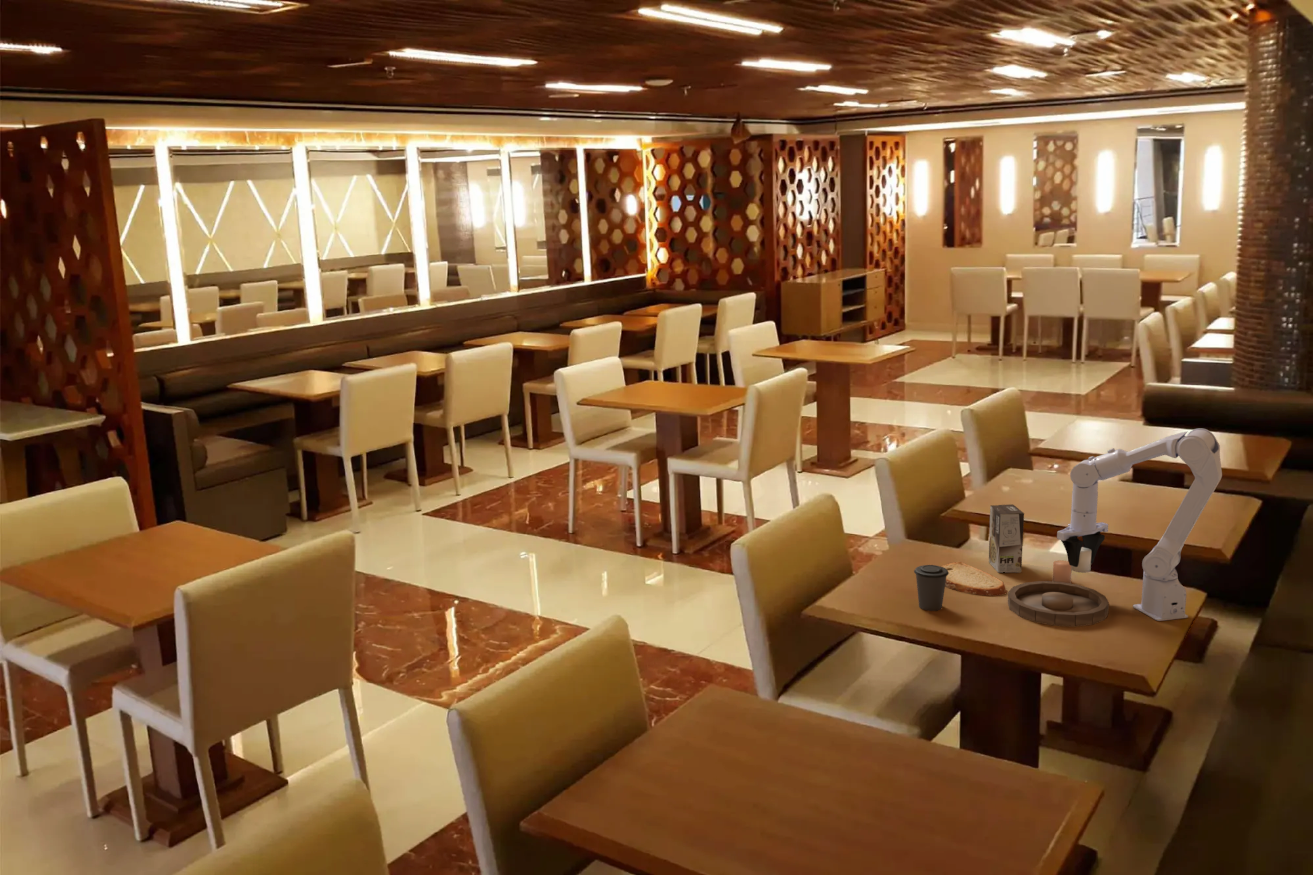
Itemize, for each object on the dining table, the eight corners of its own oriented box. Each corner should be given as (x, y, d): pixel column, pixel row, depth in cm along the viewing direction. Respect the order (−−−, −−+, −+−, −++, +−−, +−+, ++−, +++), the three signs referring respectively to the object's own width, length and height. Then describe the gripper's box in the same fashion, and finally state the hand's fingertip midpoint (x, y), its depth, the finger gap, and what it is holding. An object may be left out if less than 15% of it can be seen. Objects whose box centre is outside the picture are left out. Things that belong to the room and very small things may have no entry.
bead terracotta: (1074, 583, 268) (1075, 565, 267) (1058, 585, 268) (1059, 566, 267) (1064, 578, 273) (1065, 559, 272) (1049, 579, 272) (1049, 561, 271)
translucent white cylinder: (1090, 573, 255) (1091, 553, 254) (1071, 571, 257) (1072, 551, 256) (1090, 567, 260) (1091, 547, 258) (1070, 565, 261) (1071, 546, 260)
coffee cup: (948, 613, 252) (950, 573, 250) (913, 612, 253) (914, 572, 251) (946, 601, 259) (947, 562, 257) (912, 600, 261) (913, 561, 259)
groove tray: (1127, 620, 244) (1127, 609, 244) (1039, 630, 240) (1040, 618, 240) (1072, 588, 265) (1073, 577, 265) (991, 596, 261) (991, 586, 261)
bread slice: (1008, 597, 262) (1009, 583, 261) (933, 594, 265) (933, 580, 264) (1000, 573, 279) (1000, 559, 278) (929, 571, 282) (929, 557, 282)
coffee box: (1022, 572, 278) (1025, 513, 274) (997, 573, 278) (999, 513, 274) (1011, 561, 287) (1014, 503, 283) (987, 561, 287) (989, 504, 283)
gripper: (1093, 501, 262) (1090, 554, 264) (1048, 510, 256) (1046, 564, 259) (1116, 508, 255) (1113, 562, 258) (1071, 517, 249) (1068, 572, 252)
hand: (1081, 563), depth 258 cm, fingers closed on translucent white cylinder, 4 cm apart
